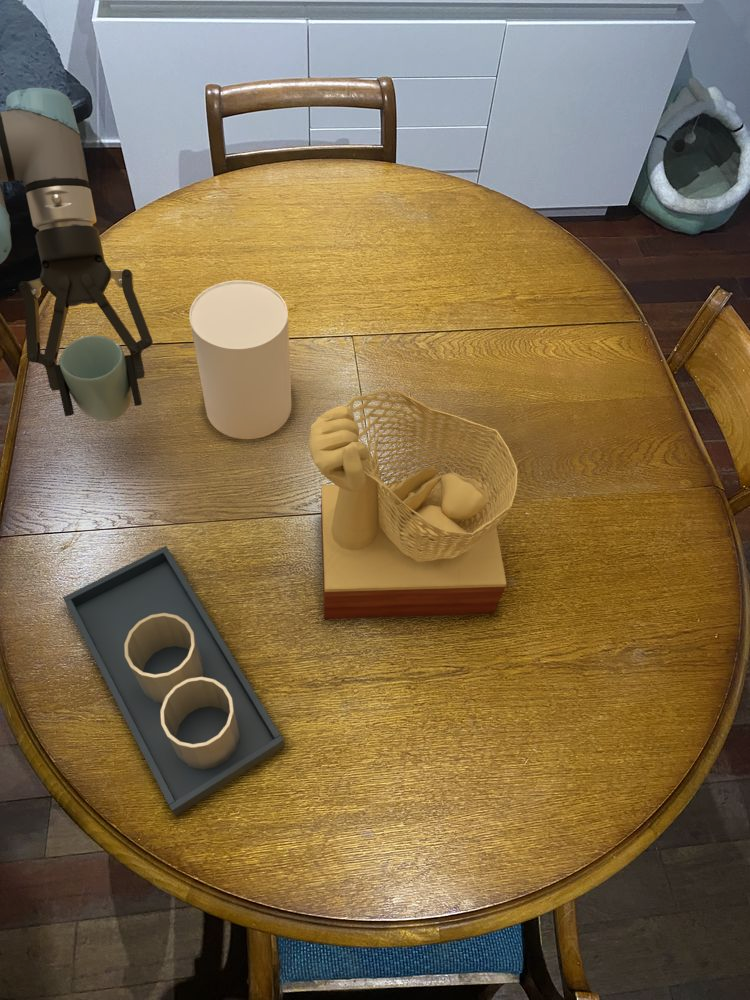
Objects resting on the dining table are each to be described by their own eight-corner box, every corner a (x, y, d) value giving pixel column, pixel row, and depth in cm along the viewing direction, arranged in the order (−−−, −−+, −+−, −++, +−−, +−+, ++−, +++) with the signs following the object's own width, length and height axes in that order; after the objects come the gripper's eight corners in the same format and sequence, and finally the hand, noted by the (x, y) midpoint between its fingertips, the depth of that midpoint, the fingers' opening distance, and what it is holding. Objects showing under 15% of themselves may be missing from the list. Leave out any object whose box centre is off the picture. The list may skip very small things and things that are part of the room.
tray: (69, 608, 105) (62, 597, 102) (169, 557, 110) (165, 545, 107) (176, 817, 91) (171, 811, 88) (284, 748, 96) (284, 740, 94)
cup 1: (67, 418, 106) (46, 367, 98) (99, 379, 110) (82, 327, 102) (117, 437, 105) (100, 387, 96) (148, 397, 109) (134, 346, 100)
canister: (201, 439, 121) (183, 347, 105) (210, 373, 129) (195, 278, 112) (289, 441, 122) (285, 350, 106) (293, 376, 130) (290, 282, 113)
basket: (311, 623, 106) (310, 473, 76) (309, 511, 115) (307, 340, 86) (493, 617, 108) (559, 469, 79) (475, 507, 118) (528, 340, 88)
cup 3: (162, 728, 97) (148, 700, 88) (221, 693, 100) (212, 664, 91) (192, 784, 93) (180, 761, 85) (252, 747, 96) (245, 721, 88)
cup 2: (130, 666, 101) (113, 634, 92) (186, 635, 104) (175, 601, 95) (157, 718, 97) (142, 690, 89) (215, 684, 100) (206, 654, 92)
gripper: (-32, 233, 92) (14, 425, 97) (150, 214, 96) (184, 399, 101) (-15, 241, 99) (26, 419, 104) (153, 223, 103) (185, 396, 108)
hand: (104, 409), depth 103 cm, fingers closed on cup 1, 8 cm apart
